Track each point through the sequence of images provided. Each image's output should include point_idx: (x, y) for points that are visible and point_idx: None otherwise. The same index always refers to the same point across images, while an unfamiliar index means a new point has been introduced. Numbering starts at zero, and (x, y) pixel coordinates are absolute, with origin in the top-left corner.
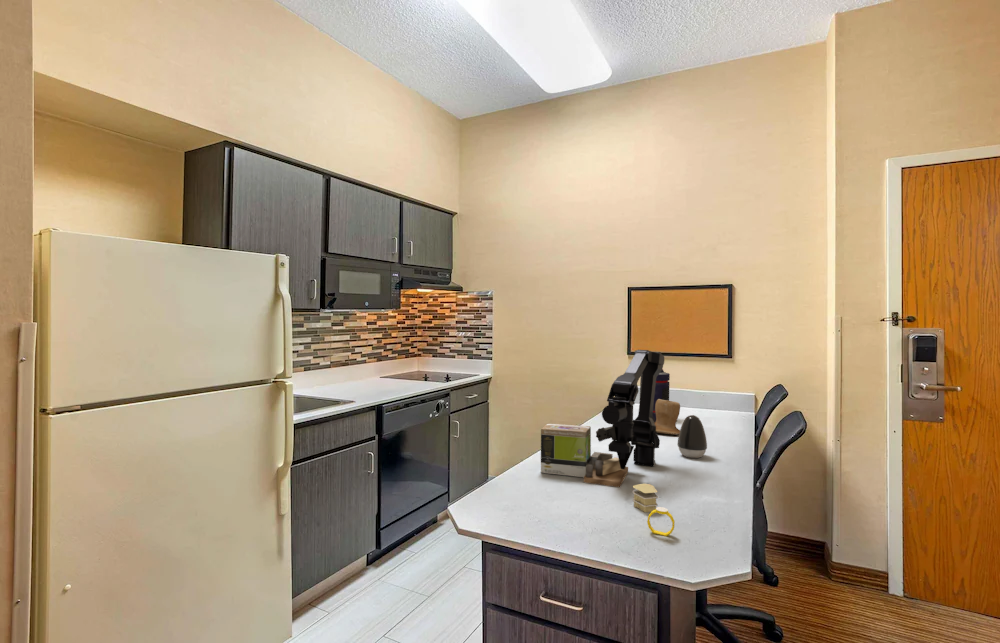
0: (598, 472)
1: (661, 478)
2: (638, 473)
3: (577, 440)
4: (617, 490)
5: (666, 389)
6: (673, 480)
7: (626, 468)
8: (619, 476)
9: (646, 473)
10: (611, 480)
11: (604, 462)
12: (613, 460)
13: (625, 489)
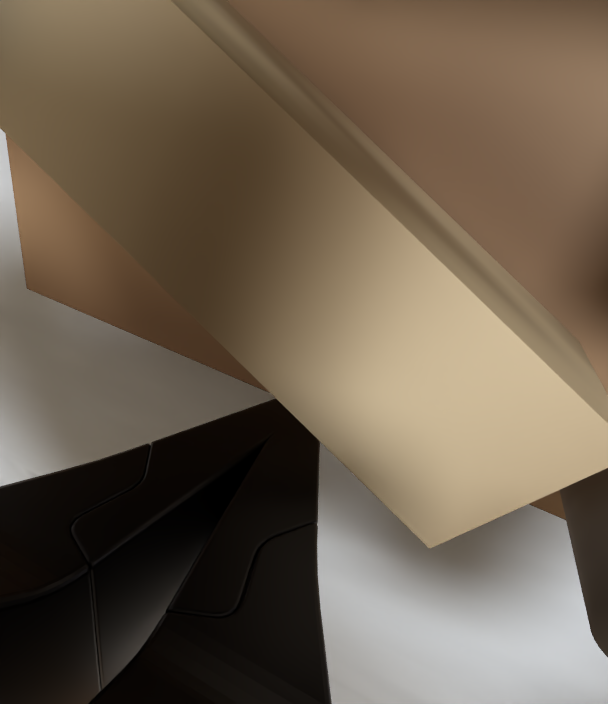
0: None
1: (379, 663)
2: (530, 575)
3: None
4: (7, 245)
5: None
6: (343, 699)
7: (550, 501)
8: (179, 318)
9: (532, 642)
10: (33, 204)
11: (78, 71)
12: (304, 332)
13: (53, 314)
